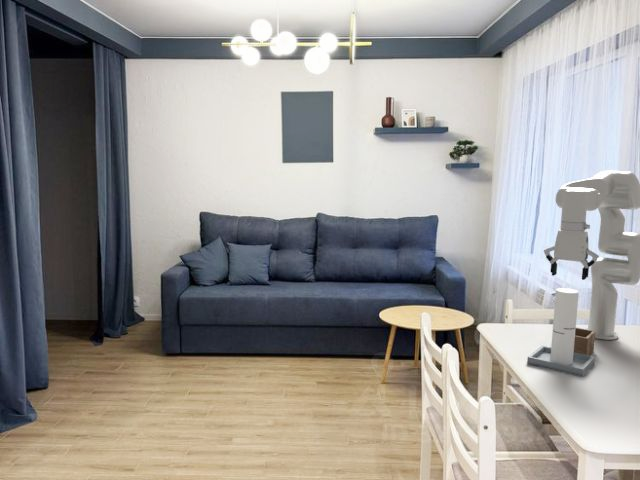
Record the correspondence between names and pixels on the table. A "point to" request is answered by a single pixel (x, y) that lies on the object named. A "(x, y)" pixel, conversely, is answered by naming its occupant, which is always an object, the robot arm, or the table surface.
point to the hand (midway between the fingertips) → (568, 277)
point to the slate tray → (576, 368)
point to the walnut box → (584, 341)
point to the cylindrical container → (564, 326)
